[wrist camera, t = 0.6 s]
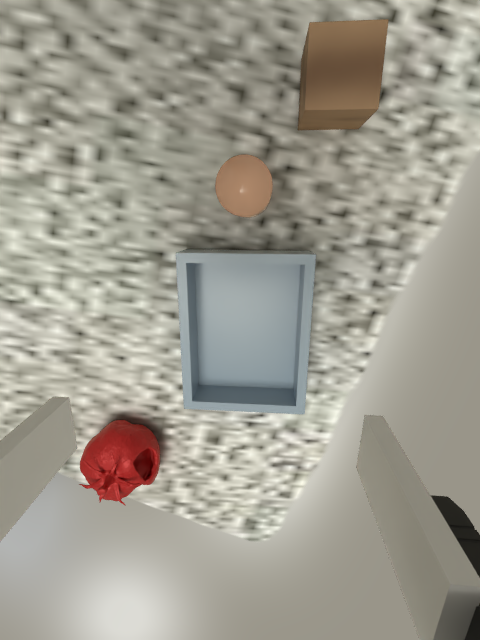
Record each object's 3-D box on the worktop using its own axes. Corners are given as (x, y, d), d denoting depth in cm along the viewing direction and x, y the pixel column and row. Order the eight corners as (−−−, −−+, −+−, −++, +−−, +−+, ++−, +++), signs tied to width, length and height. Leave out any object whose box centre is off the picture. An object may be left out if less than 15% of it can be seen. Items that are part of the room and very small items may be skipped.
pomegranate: (91, 452, 47) (48, 506, 38) (112, 400, 44) (71, 445, 35) (152, 482, 47) (123, 542, 38) (178, 432, 44) (153, 484, 35)
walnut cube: (301, 59, 31) (309, 22, 25) (365, 58, 30) (388, 19, 25) (297, 130, 32) (304, 110, 27) (358, 129, 32) (378, 108, 26)
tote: (186, 249, 37) (175, 252, 32) (309, 250, 36) (316, 254, 31) (192, 389, 42) (184, 408, 38) (300, 393, 41) (304, 414, 37)
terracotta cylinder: (224, 168, 34) (214, 154, 27) (271, 167, 34) (273, 154, 27) (225, 217, 35) (215, 216, 29) (270, 217, 35) (271, 216, 28)
